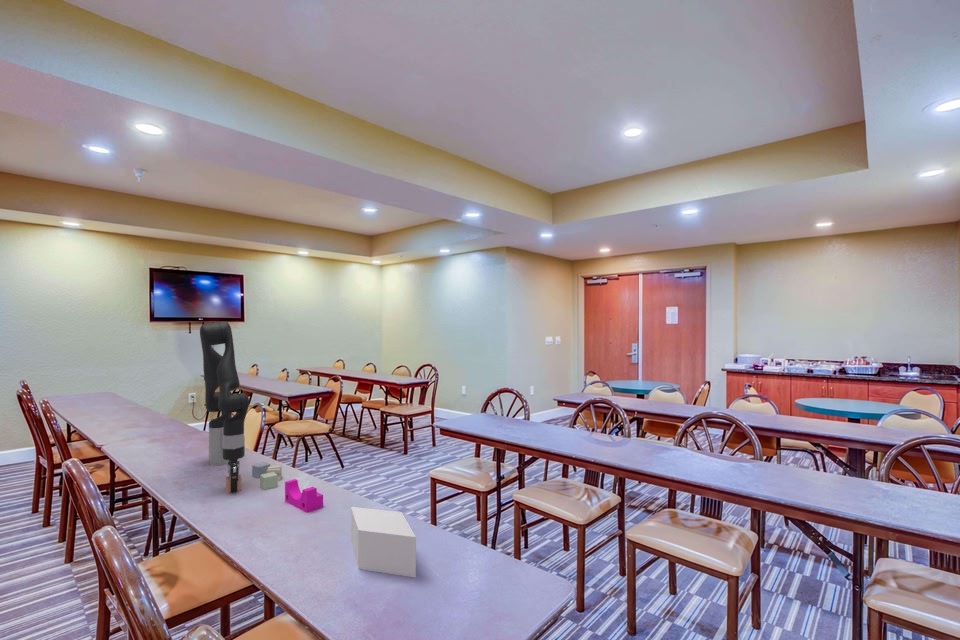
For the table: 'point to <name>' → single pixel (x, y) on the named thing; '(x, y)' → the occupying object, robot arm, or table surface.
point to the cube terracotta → (228, 484)
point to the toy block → (302, 496)
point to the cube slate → (259, 469)
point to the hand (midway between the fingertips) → (233, 489)
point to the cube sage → (268, 481)
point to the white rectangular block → (383, 541)
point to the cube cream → (276, 471)
